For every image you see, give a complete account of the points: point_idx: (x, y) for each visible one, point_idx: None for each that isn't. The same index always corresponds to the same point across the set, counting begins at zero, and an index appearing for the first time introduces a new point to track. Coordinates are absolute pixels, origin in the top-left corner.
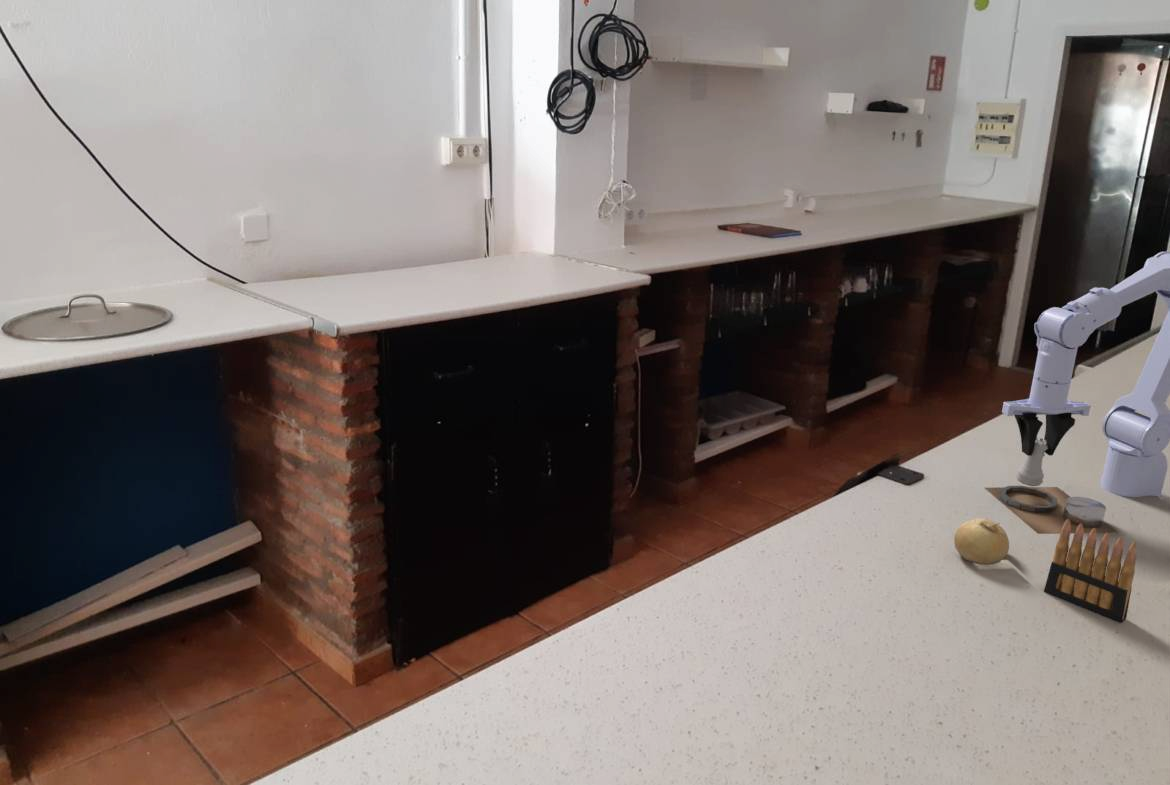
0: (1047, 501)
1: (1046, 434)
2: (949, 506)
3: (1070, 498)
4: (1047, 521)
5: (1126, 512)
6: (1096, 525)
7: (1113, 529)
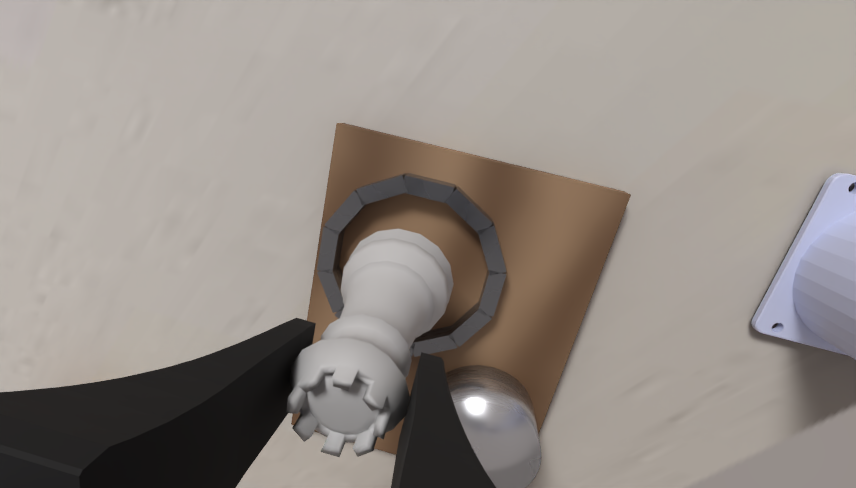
0: (480, 284)
1: (411, 423)
2: (171, 186)
3: (463, 407)
4: None
5: (710, 384)
6: None
7: None
